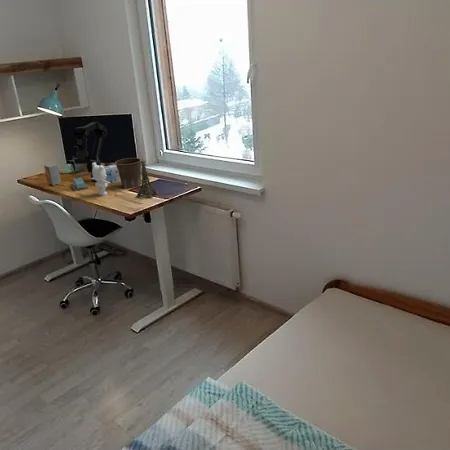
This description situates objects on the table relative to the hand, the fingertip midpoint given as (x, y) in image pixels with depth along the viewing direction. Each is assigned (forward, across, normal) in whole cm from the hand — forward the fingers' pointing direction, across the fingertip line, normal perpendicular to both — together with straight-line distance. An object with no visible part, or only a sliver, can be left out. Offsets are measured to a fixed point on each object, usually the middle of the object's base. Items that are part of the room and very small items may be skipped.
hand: (82, 172), depth 295 cm
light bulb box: (+7, +17, +8) cm, 20 cm away
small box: (+8, -22, +20) cm, 30 cm away
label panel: (+10, -2, +3) cm, 11 cm away
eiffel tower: (+14, +41, -29) cm, 52 cm away
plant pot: (+9, +31, -4) cm, 32 cm away
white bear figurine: (+14, +14, -17) cm, 26 cm away
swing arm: (+8, -3, +5) cm, 10 cm away
